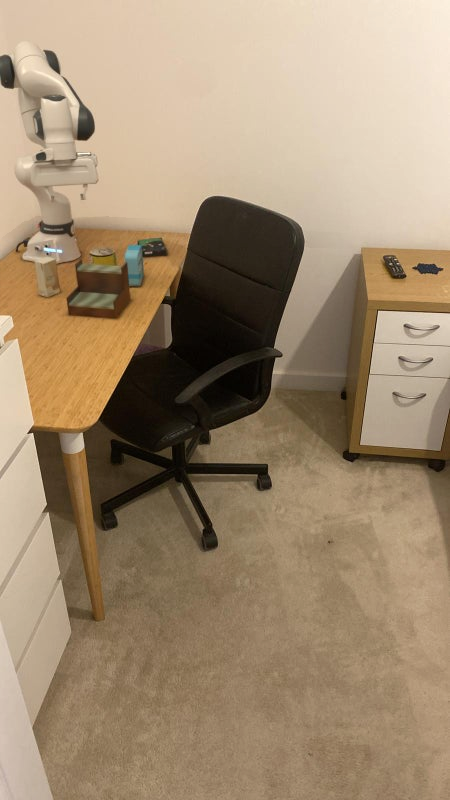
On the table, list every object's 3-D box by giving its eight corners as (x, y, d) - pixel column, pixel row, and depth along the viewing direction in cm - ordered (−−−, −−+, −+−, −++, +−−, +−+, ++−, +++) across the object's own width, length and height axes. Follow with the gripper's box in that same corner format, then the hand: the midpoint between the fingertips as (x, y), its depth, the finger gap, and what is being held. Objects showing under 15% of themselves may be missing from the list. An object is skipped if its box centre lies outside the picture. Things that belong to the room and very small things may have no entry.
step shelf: (68, 315, 210) (63, 275, 203) (84, 296, 222) (80, 259, 215) (116, 318, 207) (112, 279, 200) (130, 300, 220) (127, 262, 213)
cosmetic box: (47, 298, 221) (42, 263, 215) (38, 295, 223) (33, 261, 217) (61, 291, 226) (56, 258, 219) (52, 289, 228) (47, 255, 221)
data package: (139, 288, 229) (137, 255, 223) (126, 287, 229) (124, 255, 223) (144, 275, 239) (141, 243, 233) (131, 275, 239) (129, 243, 233)
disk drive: (167, 256, 257) (161, 243, 269) (167, 249, 255) (161, 237, 268) (141, 258, 255) (137, 245, 267) (141, 251, 253) (136, 238, 266)
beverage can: (108, 277, 238) (105, 245, 231) (123, 283, 232) (120, 251, 226) (87, 283, 232) (84, 251, 226) (102, 290, 227) (99, 257, 220)
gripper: (96, 151, 201) (101, 197, 207) (29, 154, 199) (36, 201, 204) (95, 152, 195) (101, 199, 201) (26, 155, 193) (34, 203, 198)
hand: (68, 200), depth 203 cm, fingers open, 8 cm apart
